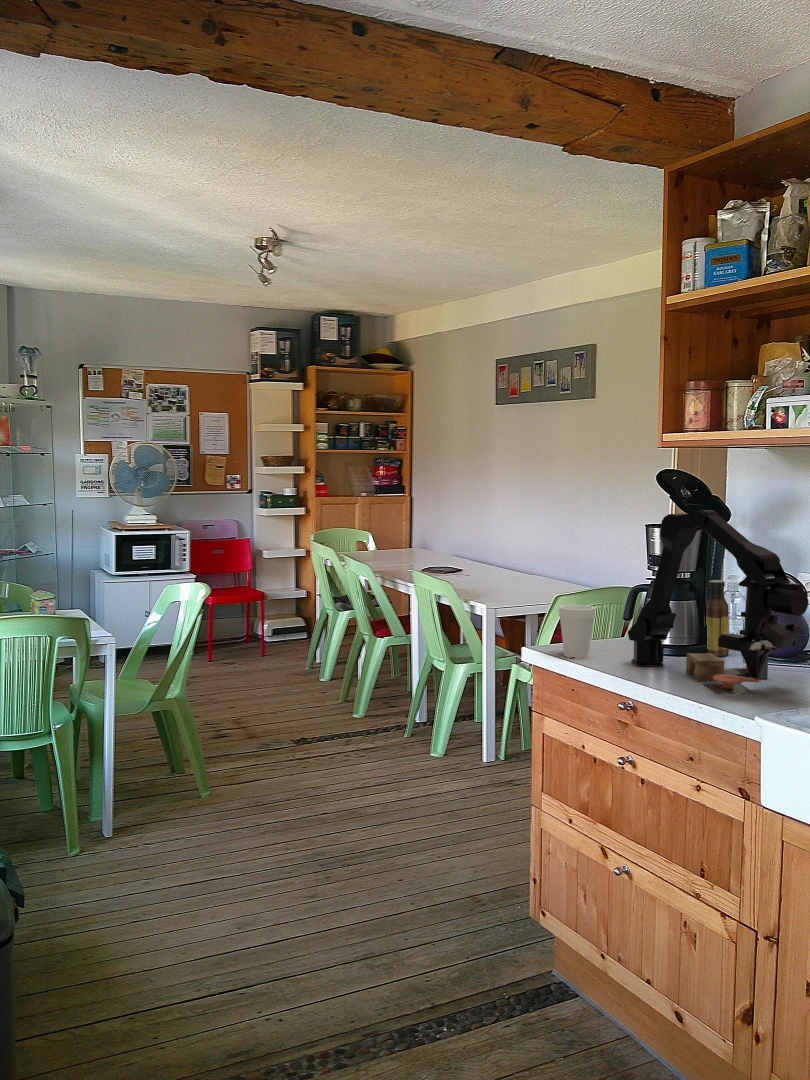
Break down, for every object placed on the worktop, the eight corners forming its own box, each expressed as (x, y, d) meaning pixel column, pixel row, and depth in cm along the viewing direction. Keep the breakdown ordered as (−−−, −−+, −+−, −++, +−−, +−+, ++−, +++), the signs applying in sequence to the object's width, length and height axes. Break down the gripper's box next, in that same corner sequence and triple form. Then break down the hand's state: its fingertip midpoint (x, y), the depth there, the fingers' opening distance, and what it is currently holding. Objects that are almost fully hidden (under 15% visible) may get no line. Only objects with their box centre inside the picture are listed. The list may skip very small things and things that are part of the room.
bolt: (696, 678, 220) (696, 657, 220) (692, 675, 223) (692, 654, 223) (767, 678, 221) (768, 657, 220) (762, 675, 224) (763, 654, 223)
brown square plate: (715, 693, 206) (715, 692, 206) (701, 684, 215) (701, 683, 215) (755, 693, 206) (755, 692, 206) (739, 684, 215) (739, 683, 215)
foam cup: (572, 660, 240) (573, 610, 239) (551, 654, 248) (551, 605, 247) (601, 657, 244) (602, 608, 243) (579, 651, 252) (580, 603, 251)
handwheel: (715, 690, 208) (715, 666, 208) (711, 683, 215) (711, 660, 214) (765, 692, 206) (765, 669, 206) (759, 685, 213) (760, 663, 212)
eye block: (698, 681, 217) (698, 660, 217) (686, 673, 226) (686, 653, 226) (723, 681, 218) (724, 660, 217) (710, 673, 226) (711, 653, 226)
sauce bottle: (725, 652, 252) (728, 579, 250) (731, 657, 246) (734, 582, 244) (700, 651, 252) (703, 579, 251) (706, 656, 246) (708, 582, 245)
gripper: (759, 617, 195) (754, 690, 196) (818, 612, 204) (813, 682, 205) (718, 608, 204) (714, 678, 206) (776, 604, 213) (771, 671, 215)
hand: (754, 678), depth 207 cm, fingers closed
